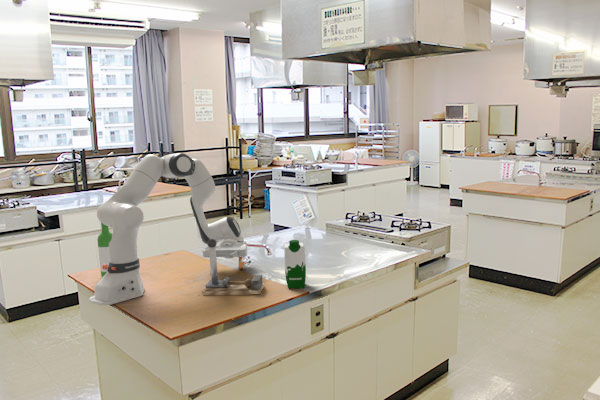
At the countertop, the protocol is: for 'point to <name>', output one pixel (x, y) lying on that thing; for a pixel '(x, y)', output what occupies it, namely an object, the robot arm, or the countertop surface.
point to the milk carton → (295, 264)
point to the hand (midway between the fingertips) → (221, 256)
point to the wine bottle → (104, 247)
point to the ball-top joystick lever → (215, 268)
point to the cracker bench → (238, 287)
